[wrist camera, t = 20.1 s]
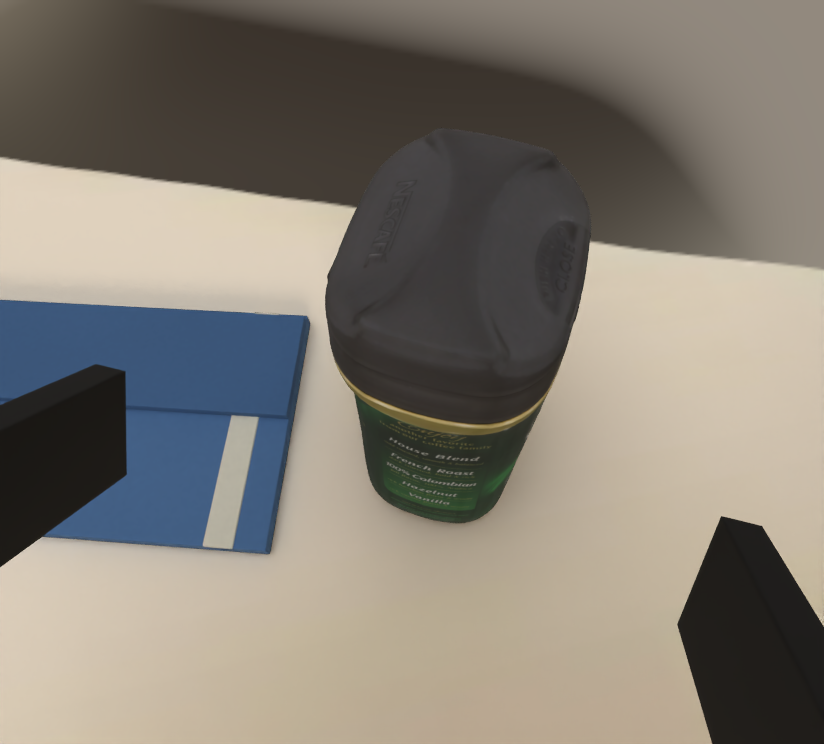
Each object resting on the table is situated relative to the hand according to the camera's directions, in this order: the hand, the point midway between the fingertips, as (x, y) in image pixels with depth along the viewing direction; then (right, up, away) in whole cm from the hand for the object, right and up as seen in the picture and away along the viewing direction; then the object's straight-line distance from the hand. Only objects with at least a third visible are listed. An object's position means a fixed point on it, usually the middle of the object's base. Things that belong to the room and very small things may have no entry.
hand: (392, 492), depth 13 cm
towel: (-19, 0, +22) cm, 29 cm away
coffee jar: (+2, -1, +21) cm, 21 cm away
